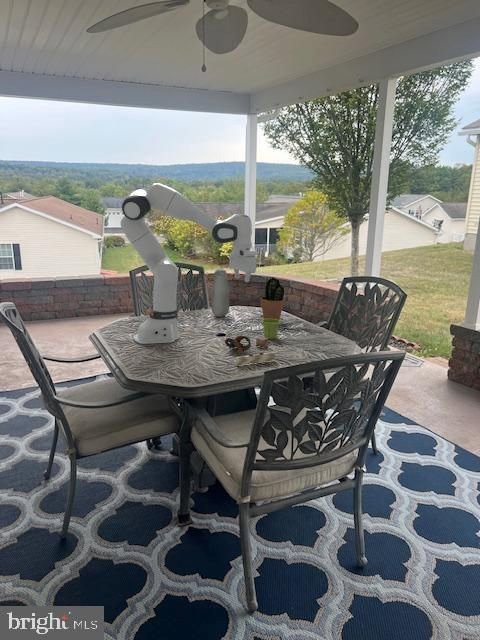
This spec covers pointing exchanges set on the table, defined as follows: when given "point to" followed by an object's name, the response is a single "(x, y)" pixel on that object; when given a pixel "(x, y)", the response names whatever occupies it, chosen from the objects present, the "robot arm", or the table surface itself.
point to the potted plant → (272, 300)
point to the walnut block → (262, 341)
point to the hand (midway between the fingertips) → (242, 280)
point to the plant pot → (270, 328)
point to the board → (255, 358)
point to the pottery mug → (238, 343)
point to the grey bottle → (220, 294)
